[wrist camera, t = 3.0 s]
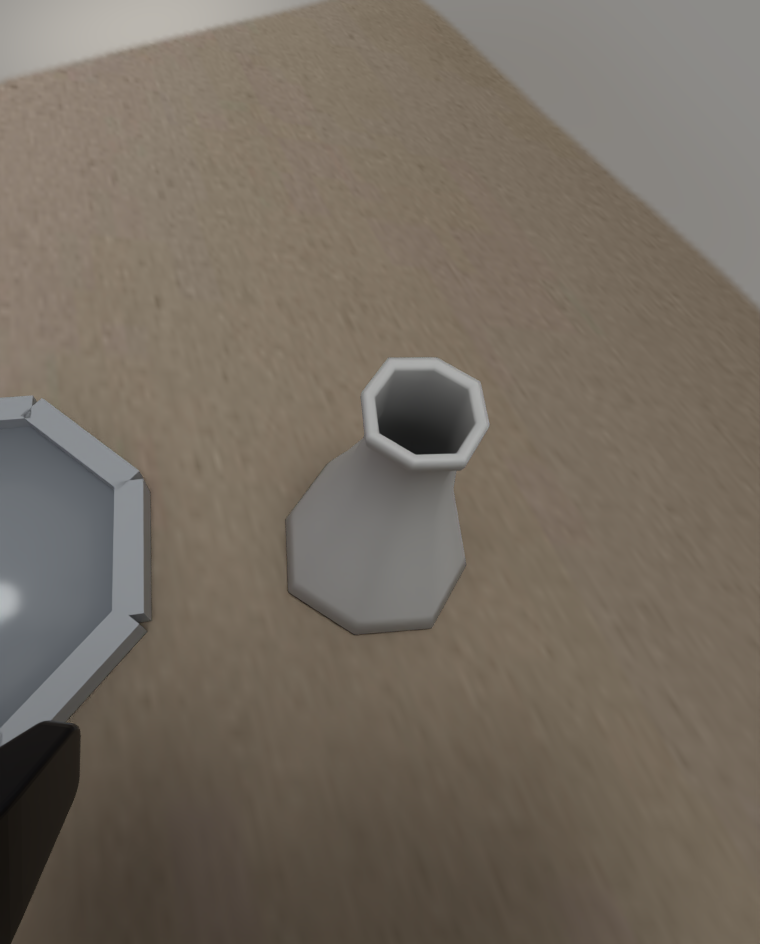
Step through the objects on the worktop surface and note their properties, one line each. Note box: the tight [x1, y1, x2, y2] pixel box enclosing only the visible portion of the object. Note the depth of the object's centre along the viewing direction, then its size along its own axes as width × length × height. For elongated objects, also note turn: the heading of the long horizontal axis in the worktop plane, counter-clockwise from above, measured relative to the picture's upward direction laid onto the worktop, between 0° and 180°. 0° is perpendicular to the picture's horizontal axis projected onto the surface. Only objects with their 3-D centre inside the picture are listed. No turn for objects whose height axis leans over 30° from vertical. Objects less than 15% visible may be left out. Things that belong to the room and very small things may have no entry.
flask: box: [286, 357, 490, 635], centre depth 19 cm, size 7×7×10 cm
